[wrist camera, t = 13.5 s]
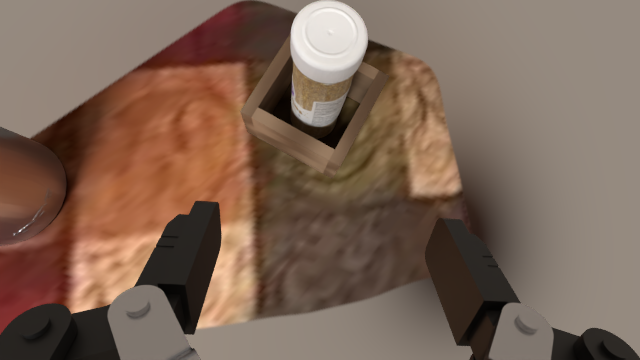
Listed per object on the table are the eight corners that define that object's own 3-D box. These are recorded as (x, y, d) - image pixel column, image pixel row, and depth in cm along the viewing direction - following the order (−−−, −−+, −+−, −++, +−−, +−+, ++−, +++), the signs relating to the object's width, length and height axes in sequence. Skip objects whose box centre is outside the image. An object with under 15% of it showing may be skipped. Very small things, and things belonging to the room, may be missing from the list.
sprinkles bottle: (284, 101, 32) (281, 3, 19) (330, 91, 33) (357, -11, 20) (296, 145, 32) (301, 75, 18) (342, 134, 32) (379, 59, 19)
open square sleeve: (247, 131, 31) (240, 111, 26) (294, 57, 33) (296, 24, 28) (332, 178, 31) (340, 166, 26) (374, 100, 33) (389, 76, 28)
